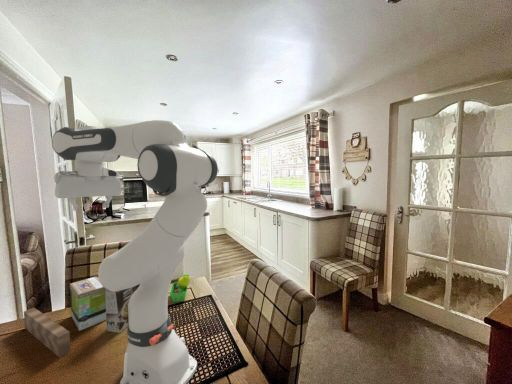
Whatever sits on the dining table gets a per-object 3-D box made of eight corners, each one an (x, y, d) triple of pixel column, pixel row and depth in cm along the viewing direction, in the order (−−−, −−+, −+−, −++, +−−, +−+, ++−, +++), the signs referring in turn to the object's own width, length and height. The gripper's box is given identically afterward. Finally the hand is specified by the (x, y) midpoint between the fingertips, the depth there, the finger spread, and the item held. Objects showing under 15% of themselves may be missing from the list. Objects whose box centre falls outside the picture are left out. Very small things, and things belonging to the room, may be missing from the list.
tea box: (108, 319, 92) (107, 285, 91) (78, 332, 84) (76, 295, 83) (98, 305, 101) (96, 275, 100) (70, 316, 94) (68, 283, 93)
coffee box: (120, 333, 83) (118, 292, 82) (106, 331, 84) (104, 290, 83) (137, 318, 92) (136, 281, 91) (124, 316, 93) (123, 280, 92)
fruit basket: (173, 292, 113) (172, 271, 112) (190, 290, 115) (190, 269, 115) (169, 304, 102) (169, 281, 101) (189, 301, 104) (188, 279, 104)
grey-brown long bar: (70, 351, 75) (69, 331, 74) (59, 357, 72) (58, 337, 71) (35, 324, 89) (34, 307, 88) (24, 328, 86) (23, 311, 86)
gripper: (58, 170, 70) (60, 213, 70) (123, 172, 88) (124, 206, 88) (50, 170, 73) (52, 211, 73) (114, 172, 91) (115, 205, 91)
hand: (92, 208), depth 81 cm, fingers open, 8 cm apart
